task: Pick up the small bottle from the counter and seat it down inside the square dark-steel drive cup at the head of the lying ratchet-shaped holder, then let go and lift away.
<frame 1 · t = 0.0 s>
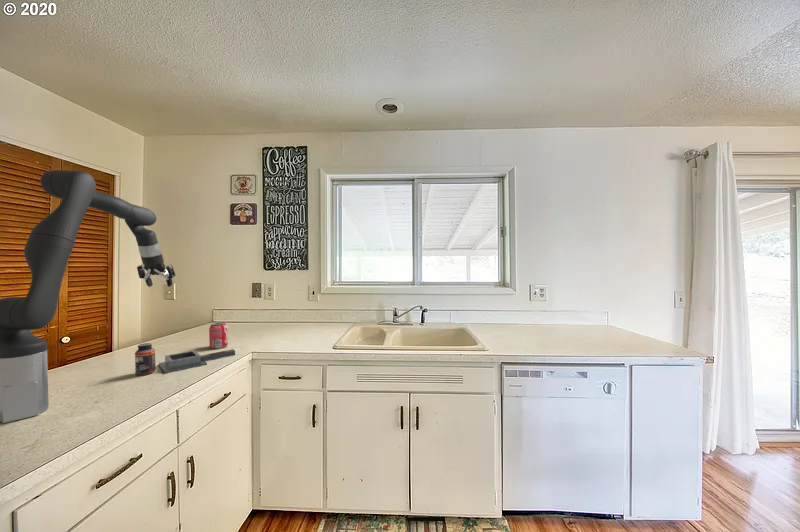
hand: (160, 286, 141), 31 cm above the worktop, tool tilted 20°, fingers open, 8 cm apart
beverage can: (218, 347, 150), on the worktop
supplement bottle: (145, 373, 116), on the worktop
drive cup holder: (182, 364, 125), on the worktop
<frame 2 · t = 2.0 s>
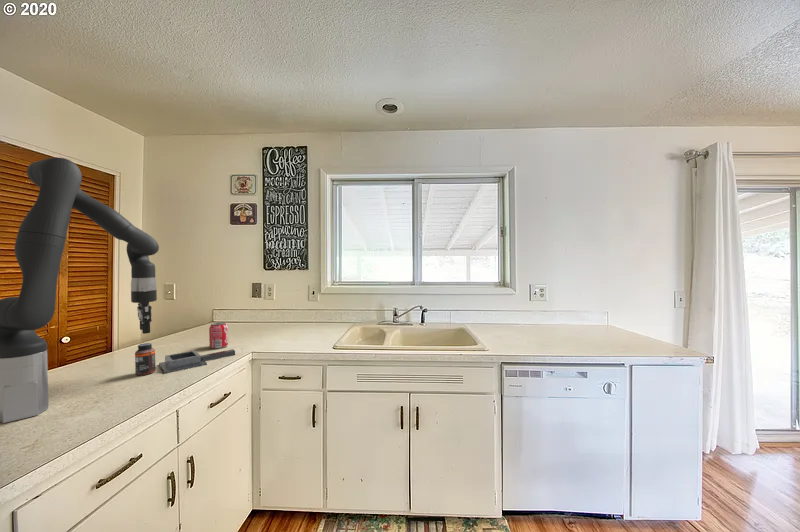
hand: (144, 331, 115), 16 cm above the worktop, tool pointing down, fingers open, 8 cm apart
nothing on the worktop moved.
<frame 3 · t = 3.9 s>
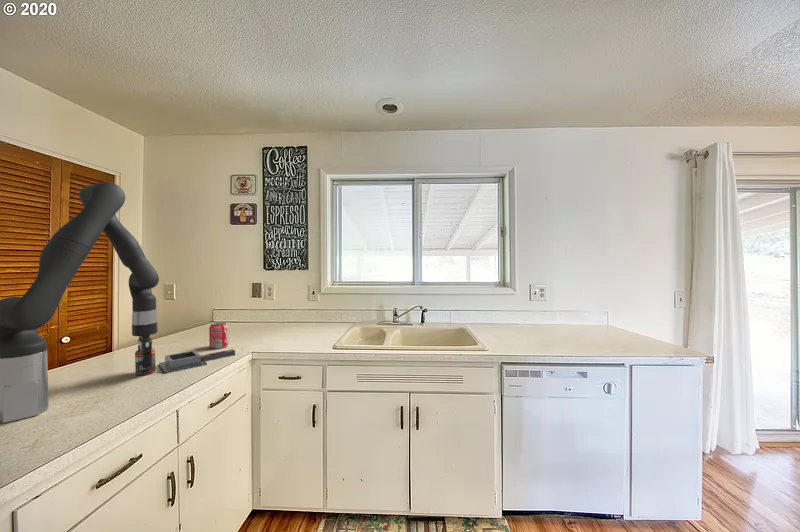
hand: (145, 365, 116), 3 cm above the worktop, tool pointing down, fingers closed on supplement bottle, 6 cm apart
supplement bottle: (145, 373, 116), on the worktop, touching gripper
everything else where it was.
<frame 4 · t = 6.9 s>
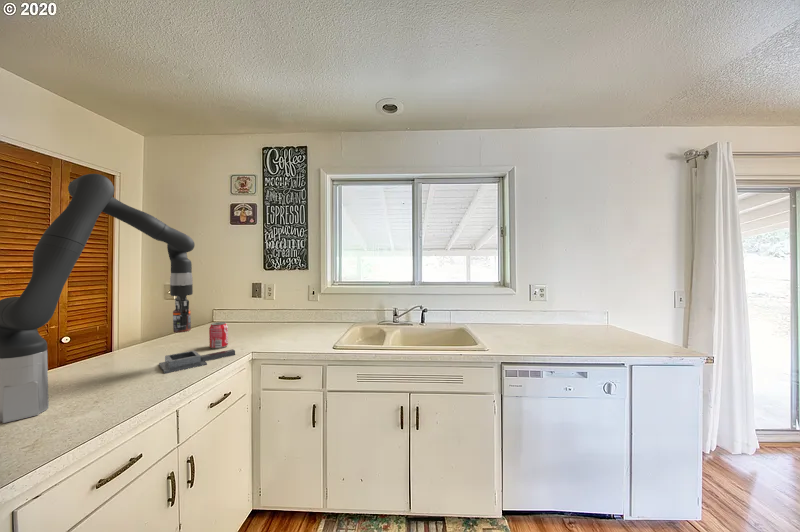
hand: (182, 324, 125), 17 cm above the worktop, tool pointing down, fingers closed on supplement bottle, 6 cm apart
supplement bottle: (182, 331, 125), point 14 cm above the worktop, touching gripper
everything else where it was.
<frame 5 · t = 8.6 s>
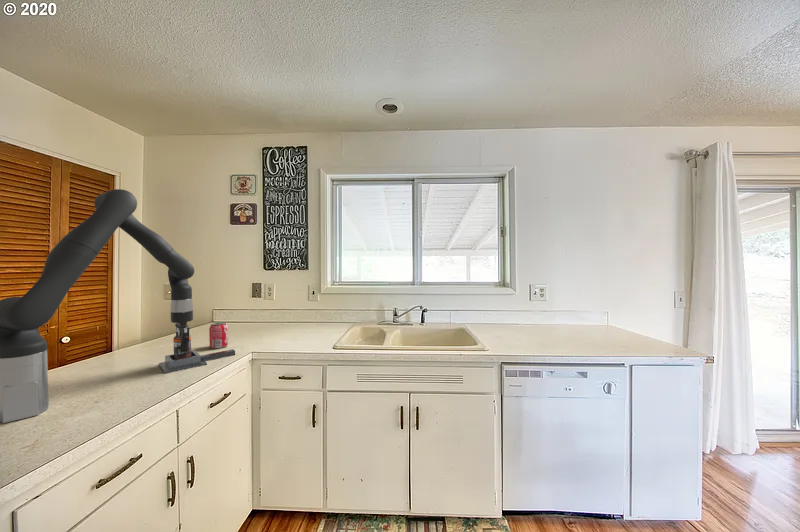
hand: (182, 350, 125), 6 cm above the worktop, tool pointing down, fingers closed on supplement bottle, 6 cm apart
supplement bottle: (182, 357, 125), point 3 cm above the worktop, touching gripper
everything else where it was.
when the fingers open (5 cm above the worktop, at t = 9.9 s): supplement bottle stays where it is, resting on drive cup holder.
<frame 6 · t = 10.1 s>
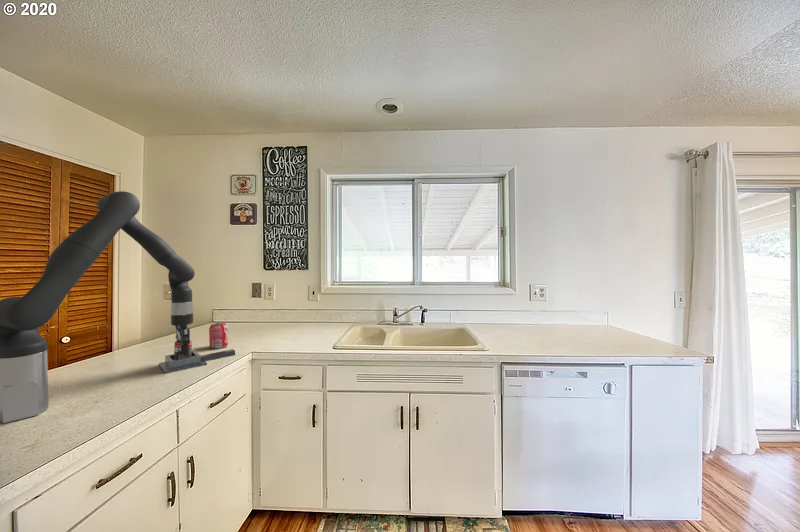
hand: (182, 351, 125), 5 cm above the worktop, tool pointing down, fingers open, 7 cm apart
supplement bottle: (182, 363, 125), point 1 cm above the worktop, touching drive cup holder
everything else where it was.
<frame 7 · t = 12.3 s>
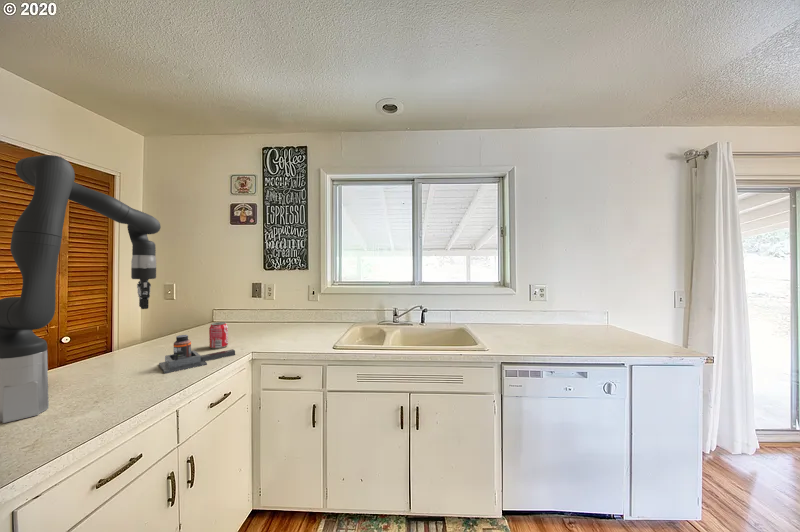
hand: (143, 307, 119), 25 cm above the worktop, tool pointing down, fingers open, 8 cm apart
nothing on the worktop moved.
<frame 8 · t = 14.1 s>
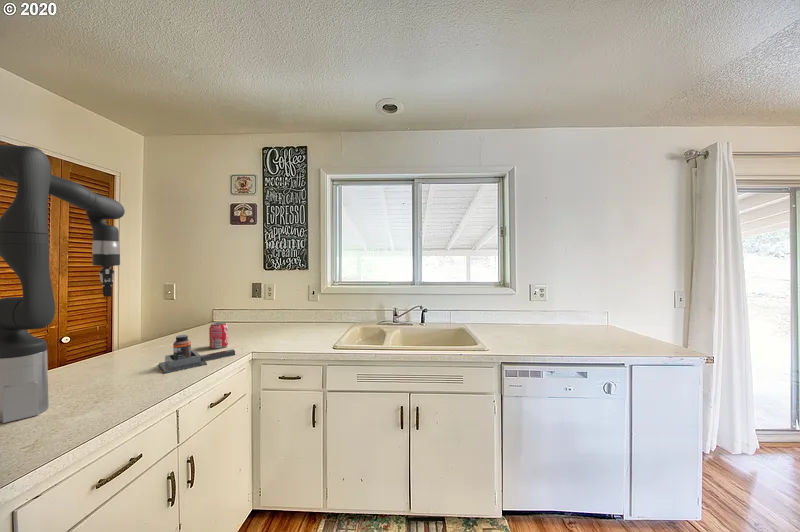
hand: (107, 295, 114), 30 cm above the worktop, tool pointing down, fingers open, 8 cm apart
nothing on the worktop moved.
at the end: supplement bottle 0.1 cm off-centre on the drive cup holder, point 0.6 cm above the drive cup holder's base; supplement bottle tilted 0°; the gripper is holding nothing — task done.
